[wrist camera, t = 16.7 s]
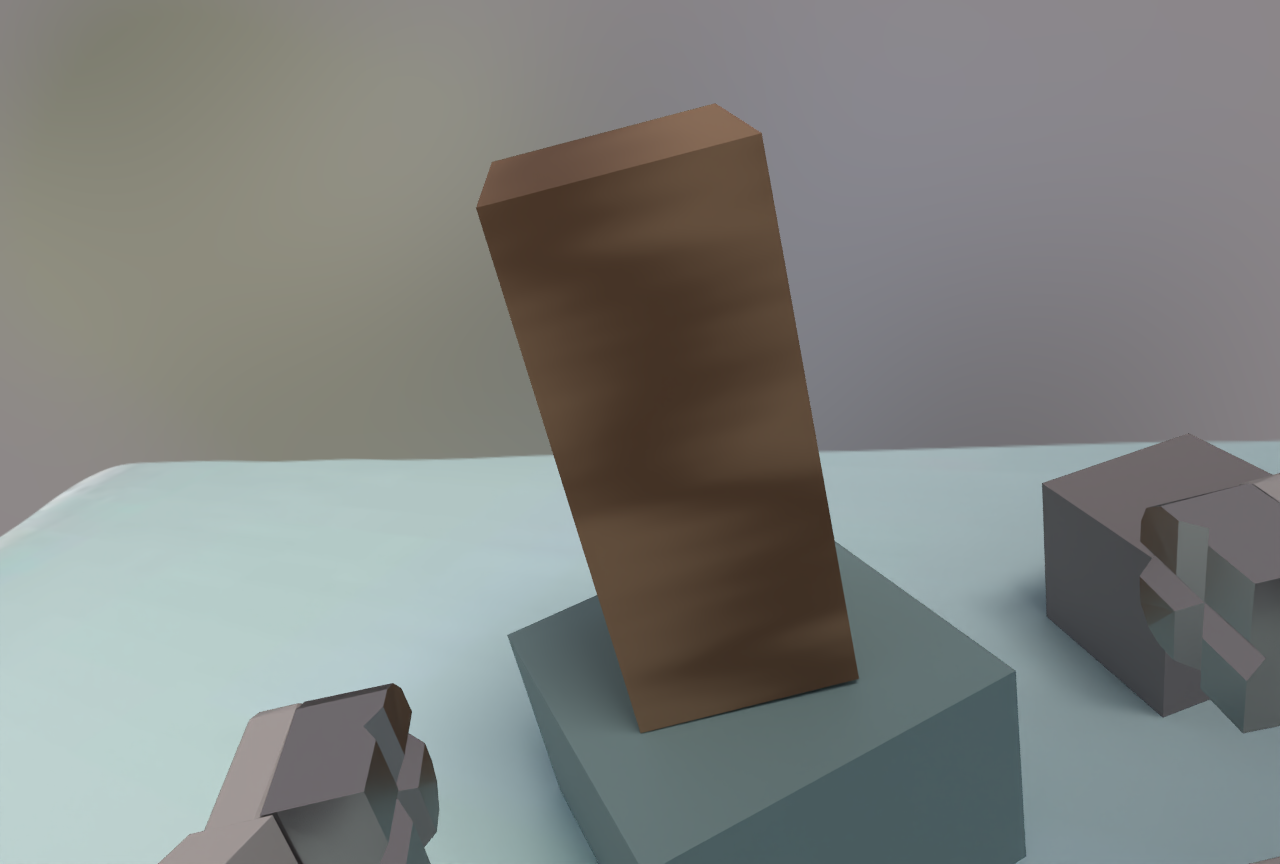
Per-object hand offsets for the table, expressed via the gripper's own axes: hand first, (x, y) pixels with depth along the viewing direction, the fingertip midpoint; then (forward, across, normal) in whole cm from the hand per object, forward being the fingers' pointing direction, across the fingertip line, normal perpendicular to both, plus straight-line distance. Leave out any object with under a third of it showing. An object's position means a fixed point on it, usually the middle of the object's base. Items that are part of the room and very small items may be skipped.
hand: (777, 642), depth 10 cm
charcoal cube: (+14, -13, +14) cm, 23 cm away
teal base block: (+10, 0, +14) cm, 18 cm away
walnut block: (+11, 0, +8) cm, 13 cm away
